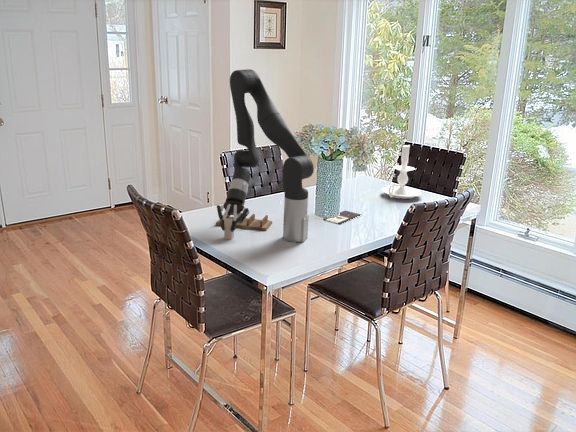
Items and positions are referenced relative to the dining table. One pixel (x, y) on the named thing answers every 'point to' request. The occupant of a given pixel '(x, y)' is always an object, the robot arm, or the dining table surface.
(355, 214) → the chocolate bar
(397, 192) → the candlestick
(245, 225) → the drying rack
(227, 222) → the clay bar
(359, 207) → the dining table surface
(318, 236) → the dining table surface
